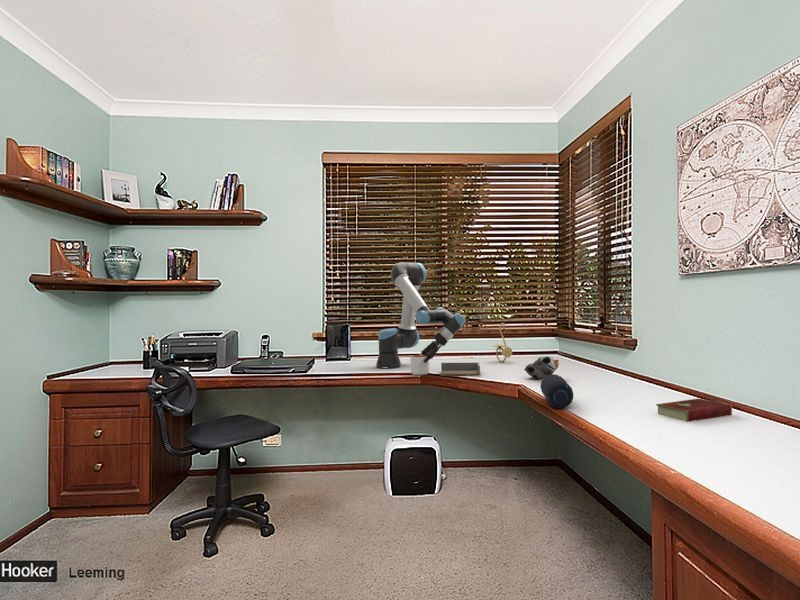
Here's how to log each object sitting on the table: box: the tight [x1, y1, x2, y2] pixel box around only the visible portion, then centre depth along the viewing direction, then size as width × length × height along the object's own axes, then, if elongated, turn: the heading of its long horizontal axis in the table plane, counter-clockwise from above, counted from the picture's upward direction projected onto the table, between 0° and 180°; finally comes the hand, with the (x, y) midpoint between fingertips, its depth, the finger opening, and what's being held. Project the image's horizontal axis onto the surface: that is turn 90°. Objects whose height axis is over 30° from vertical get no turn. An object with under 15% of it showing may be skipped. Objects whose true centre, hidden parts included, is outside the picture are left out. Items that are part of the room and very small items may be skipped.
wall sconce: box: [492, 322, 513, 363], centre depth 321 cm, size 14×10×25 cm
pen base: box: [439, 370, 481, 377], centre depth 275 cm, size 15×21×1 cm
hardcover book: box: [655, 398, 733, 423], centre depth 171 cm, size 12×21×4 cm, turn 112°
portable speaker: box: [540, 373, 574, 409], centre depth 195 cm, size 25×10×10 cm, turn 171°
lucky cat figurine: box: [524, 355, 560, 380], centre depth 254 cm, size 15×12×14 cm
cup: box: [410, 354, 430, 376], centre depth 277 cm, size 10×10×10 cm
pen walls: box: [440, 362, 481, 375], centre depth 275 cm, size 15×21×4 cm
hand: (417, 365), depth 277 cm, fingers open, 13 cm apart
